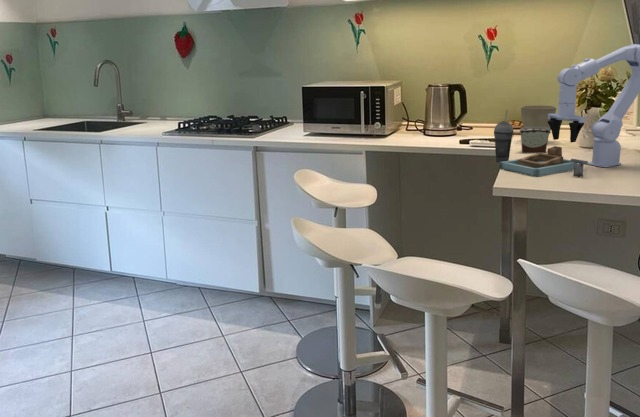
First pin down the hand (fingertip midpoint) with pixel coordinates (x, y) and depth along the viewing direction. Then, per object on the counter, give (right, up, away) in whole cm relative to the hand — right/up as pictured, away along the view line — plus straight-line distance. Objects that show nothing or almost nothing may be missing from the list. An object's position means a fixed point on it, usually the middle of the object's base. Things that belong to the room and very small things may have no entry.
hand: (564, 140), depth 229 cm
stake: (-1, -13, -14) cm, 19 cm away
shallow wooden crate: (-7, -8, 0) cm, 11 cm away
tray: (-9, -10, -1) cm, 14 cm away
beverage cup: (-19, -7, +13) cm, 24 cm away
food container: (-1, -1, +32) cm, 32 cm away
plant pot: (+8, +4, +52) cm, 53 cm away
